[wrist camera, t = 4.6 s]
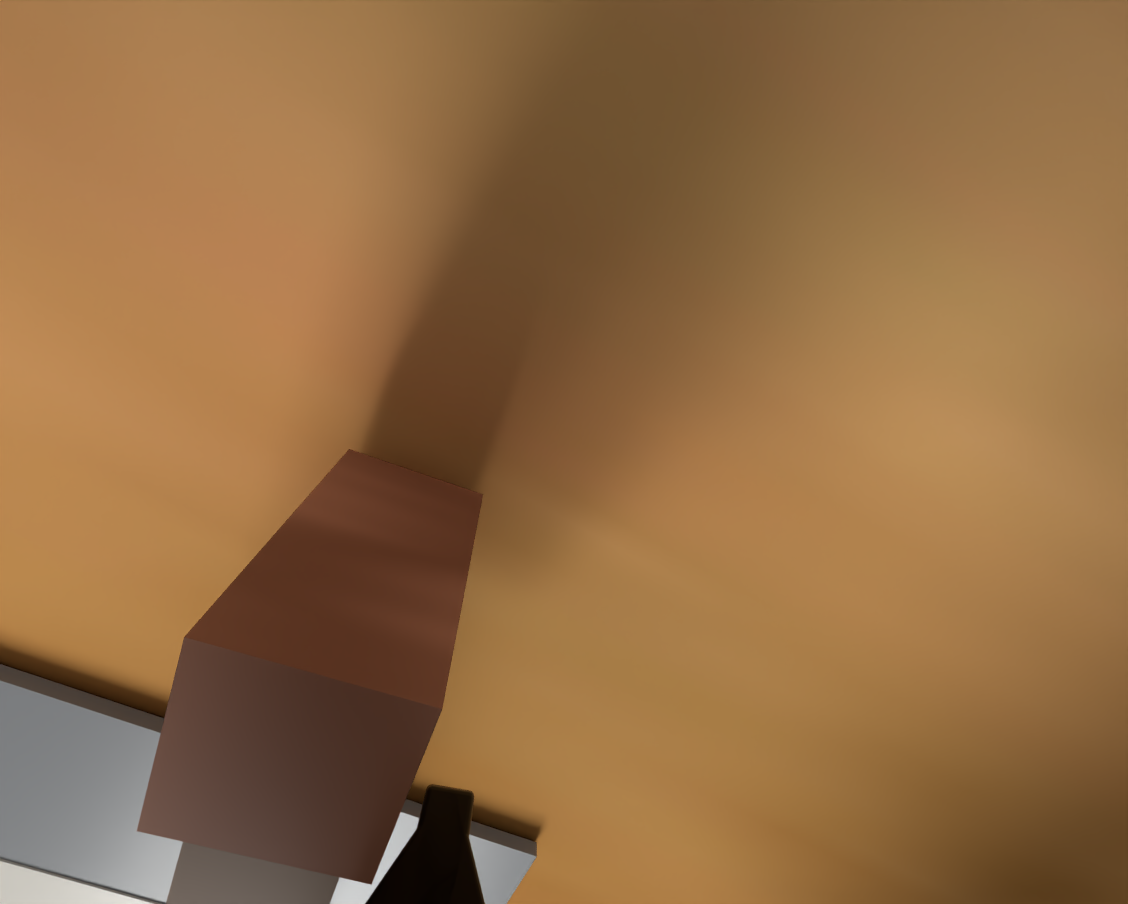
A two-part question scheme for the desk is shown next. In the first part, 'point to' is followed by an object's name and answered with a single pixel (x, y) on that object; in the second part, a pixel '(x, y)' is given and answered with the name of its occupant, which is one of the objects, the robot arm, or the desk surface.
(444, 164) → the desk surface
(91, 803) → the card
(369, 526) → the fence gate
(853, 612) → the desk surface
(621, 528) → the desk surface
